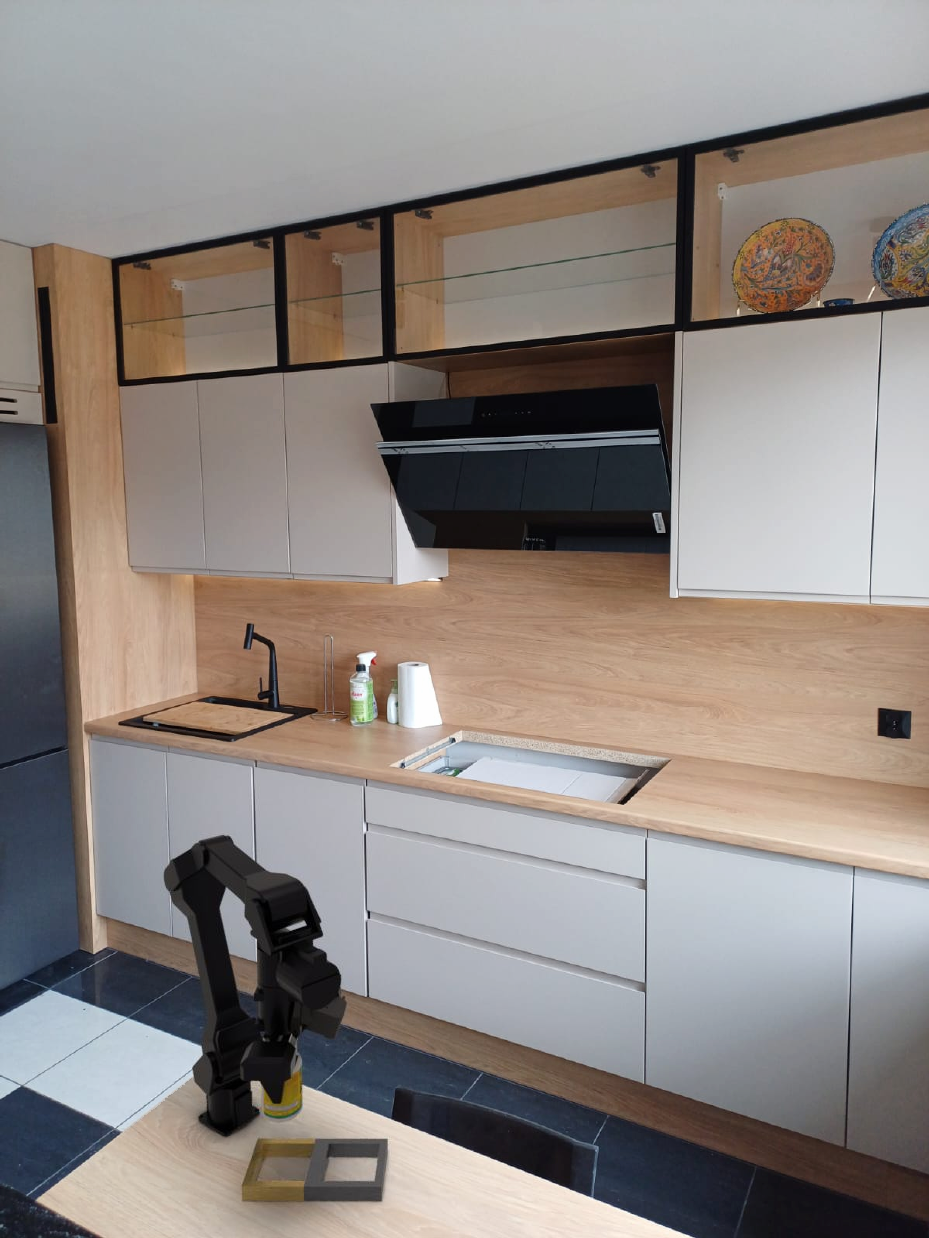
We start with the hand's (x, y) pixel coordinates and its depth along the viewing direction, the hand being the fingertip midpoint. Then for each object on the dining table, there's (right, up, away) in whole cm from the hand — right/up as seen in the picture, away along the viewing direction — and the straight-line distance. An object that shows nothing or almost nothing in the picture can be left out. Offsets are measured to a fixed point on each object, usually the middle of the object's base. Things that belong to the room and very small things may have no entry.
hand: (281, 1089), depth 116 cm
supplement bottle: (0, -3, 0) cm, 3 cm away
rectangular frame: (+5, -12, +1) cm, 13 cm away
